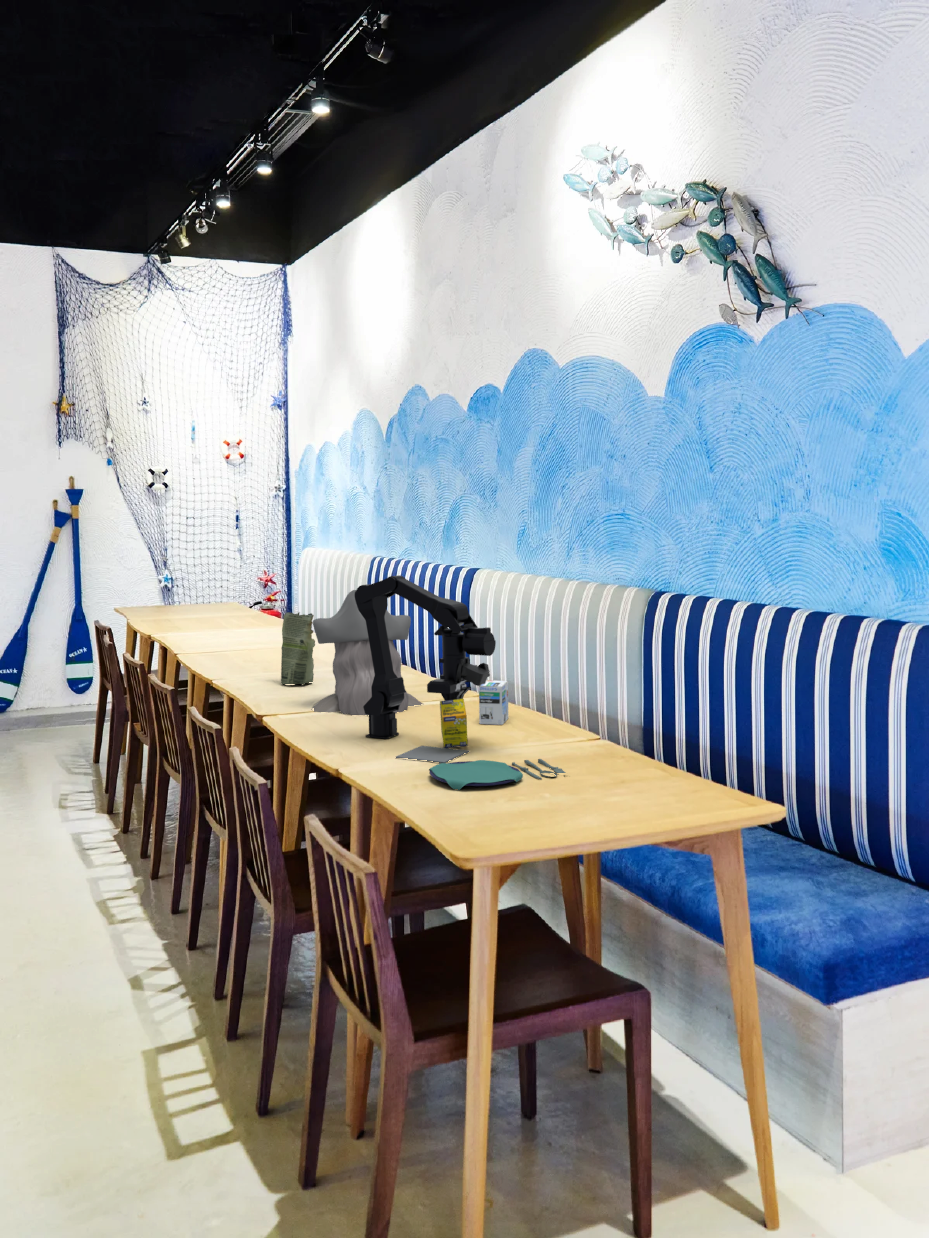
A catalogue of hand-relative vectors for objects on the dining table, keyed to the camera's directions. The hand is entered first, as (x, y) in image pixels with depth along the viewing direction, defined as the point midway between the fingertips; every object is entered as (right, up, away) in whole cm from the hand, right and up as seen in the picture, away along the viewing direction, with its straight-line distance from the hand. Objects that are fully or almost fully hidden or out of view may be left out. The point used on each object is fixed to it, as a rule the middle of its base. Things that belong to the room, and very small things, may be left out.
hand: (455, 716), depth 254 cm
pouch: (-54, +1, +96) cm, 111 cm away
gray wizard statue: (-27, -2, +55) cm, 62 cm away
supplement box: (0, -6, -1) cm, 6 cm away
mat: (-5, -8, -10) cm, 14 cm away
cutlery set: (+9, -11, -30) cm, 33 cm away
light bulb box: (+10, -4, +31) cm, 33 cm away
